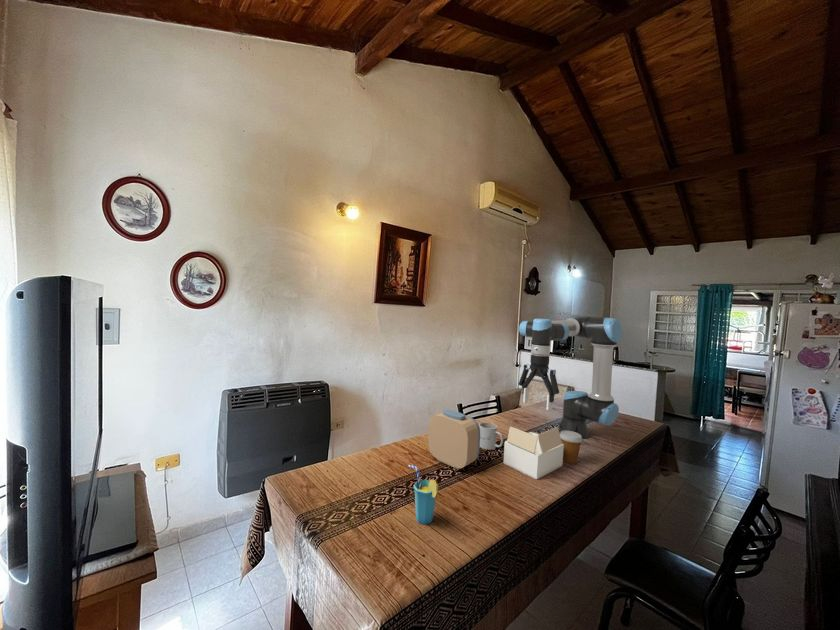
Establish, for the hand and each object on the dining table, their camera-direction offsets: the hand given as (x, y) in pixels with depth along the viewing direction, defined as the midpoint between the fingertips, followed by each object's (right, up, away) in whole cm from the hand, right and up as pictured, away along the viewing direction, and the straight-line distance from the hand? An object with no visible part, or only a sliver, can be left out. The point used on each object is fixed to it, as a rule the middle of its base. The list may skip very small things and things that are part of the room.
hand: (536, 405), depth 143 cm
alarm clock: (-36, -24, 0) cm, 44 cm away
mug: (-17, -25, +17) cm, 34 cm away
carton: (-1, -26, +1) cm, 26 cm away
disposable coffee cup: (+17, -27, +7) cm, 32 cm away
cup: (-50, -25, -38) cm, 67 cm away
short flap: (-8, -12, -5) cm, 16 cm away
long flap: (+4, -13, -5) cm, 14 cm away
